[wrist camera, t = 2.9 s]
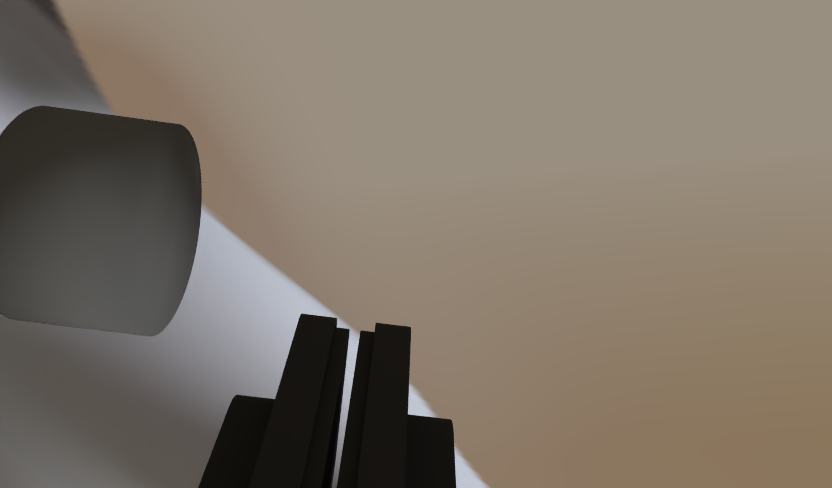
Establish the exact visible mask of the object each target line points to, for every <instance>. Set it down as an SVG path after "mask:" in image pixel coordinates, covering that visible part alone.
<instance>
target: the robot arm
mask: <svg viewBox="0 0 832 488" xmlns="http://www.w3.org/2000/svg"><path fill="white" fill-rule="evenodd" d="M336 327H337V318H332V317H324V316H316V315H308V314H301V315H300V318H299V321H298V324H297V328H296V331H295V334H294V338H293V341H292V345H291V348H290V351H289V355H288V358H287V361H286V365H285V368H284V371H283V375H282V378H281V381H280V385H279V388H278V392H277V395H276V398H275V399H268V398H259V397H251V396H242V395H236V396H235V397H234V398H233V399H232V402H231V404H230V406H229V408H228V411H227V414H226V416H225V419H224V422H223V424H222V427H221V429H220V432H219V435H218V437H217V440H216V443H215V445H214V448H213V450H212V453H211V456H210V458H209V461H208V463H207V466H206V469H205V471H204V474H203V477H202V479H201V482H200V484H199V487H198V488H331V487H332V481H333V474H334V467H335V459H336V450H337V441H338V432H339V423H340V414H341V405H342V395H343V386H344V377H345V368H346V359H347V350H348V340H349V329H344V328H336ZM410 341H411V327H406V326H398V325H389V324H381V323H376V326H375V332H368V331H361V332H360V339H359V345H358V352H357V358H356V365H355V372H354V378H353V385H352V391H351V398H350V404H349V411H348V418H347V424H346V431H345V437H344V444H343V451H342V457H341V464H340V470H339V477H338V484H337V488H456V477H455V455H454V433H453V423H452V420H450V419H442V418H433V417H424V416H416V415H408V394H409V368H410V343H411V342H410Z"/></svg>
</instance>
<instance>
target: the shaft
mask: <svg viewBox="0 0 832 488" xmlns="http://www.w3.org/2000/svg"><path fill="white" fill-rule="evenodd" d="M201 189H202V188H201V171H200V163H199V157H198V152H197V148H196V145H195V142H194V140H193V137H192V135H191V134H190V132H189V131H188V130H187V129H186V128H185V127H184V126H182V125H180V124H173V123H166V122H158V121H151V120H144V119H136V118H129V117H122V116H115V115H107V114H100V113H93V112H85V111H78V110H71V109H63V108H56V107H49V106H38V107H33V108H31V109H28V110H26V111H24V112H23V113H21V114H20V115H18V116H17V117H16V118H15V119H14V120H13V121H12V122H11V123H10V124H9V125H8V126H7V127H6V129H5V130H4V131H3V132H2V134H1V135H0V313H1V314H2V315H4V316H6V317H7V318H10V319H14V320H20V321H29V322H37V323H45V324H53V325H61V326H69V327H77V328H86V329H94V330H102V331H110V332H118V333H126V334H135V335H143V336H154V335H157V334H159V333H160V332H161V331H163V330H164V328H165V327H166V326H167V325H168V324H169V322H170V321H171V320H172V318H173V316H174V314H175V313H176V311H177V309H178V307H179V305H180V303H181V300H182V298H183V295H184V293H185V290H186V287H187V284H188V281H189V277H190V274H191V270H192V266H193V262H194V257H195V252H196V247H197V241H198V235H199V227H200V217H201V196H202V195H201V194H202V193H201V192H202V190H201Z"/></svg>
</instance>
